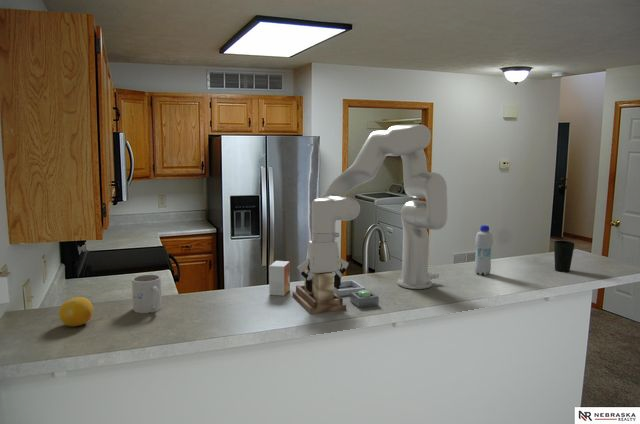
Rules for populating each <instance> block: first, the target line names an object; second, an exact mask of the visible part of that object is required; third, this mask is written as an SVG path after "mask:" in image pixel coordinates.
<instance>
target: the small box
mask: <svg viewBox="0 0 640 424" xmlns="http://www.w3.org/2000/svg"><path fill="white" fill-rule="evenodd" d="M268 281H269V282H268V285H269V287H268V289H269V291H268V293H269V295H270V296H283V297H284V296H285V295H286V294H287V293H288V292H289V291H290V290H291V262H290V260H289V261H286V260H285V261H284V260H275V261H274V262H272V264H270V265H269V266H268Z"/></svg>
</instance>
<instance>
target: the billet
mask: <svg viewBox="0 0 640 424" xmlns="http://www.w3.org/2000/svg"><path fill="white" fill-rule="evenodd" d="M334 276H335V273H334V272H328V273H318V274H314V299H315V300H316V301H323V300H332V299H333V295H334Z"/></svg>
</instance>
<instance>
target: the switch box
mask: <svg viewBox="0 0 640 424" xmlns="http://www.w3.org/2000/svg"><path fill="white" fill-rule="evenodd" d="M369 291H370V290H369ZM349 299H350V300H349V301H350V302H351V303H352V304H354V305H355V306H356V307H357V308H359V309H360V308H368V307H369V308H370V307H376V306H377V307H378V306H379V299H380V298H379V296H378V295H377V294H375V293H374V292H372V291H370V296H369V297H359V296H358V292H351V293H350V295H349Z"/></svg>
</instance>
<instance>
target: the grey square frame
mask: <svg viewBox="0 0 640 424" xmlns="http://www.w3.org/2000/svg"><path fill="white" fill-rule="evenodd" d="M345 287H353V288H345ZM341 288H343V289H341ZM361 290H366V287H364V286H363V285H361V284H360V283H359V282H356V281H355V280H354V279H350V280H349V279H348V280H341V285H340V289H336V288H335V287H334V293H335V294H336V295H338V296H339V297H344V296H350V293H351V292H359V291H361Z"/></svg>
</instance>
